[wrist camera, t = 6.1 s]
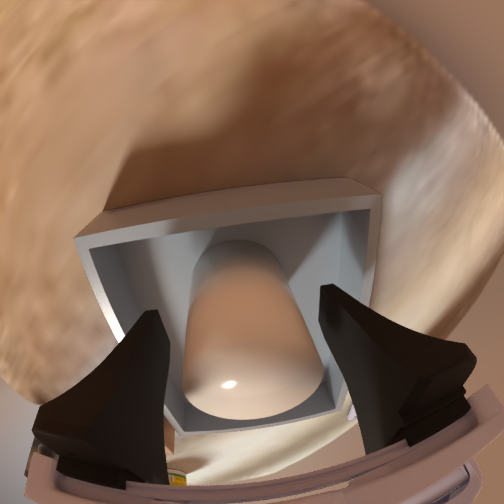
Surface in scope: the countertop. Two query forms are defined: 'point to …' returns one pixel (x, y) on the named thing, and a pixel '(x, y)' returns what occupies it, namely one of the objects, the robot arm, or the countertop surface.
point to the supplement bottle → (176, 477)
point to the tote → (224, 229)
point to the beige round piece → (246, 336)
